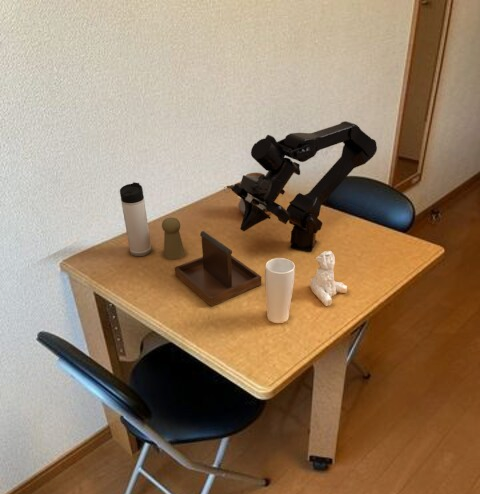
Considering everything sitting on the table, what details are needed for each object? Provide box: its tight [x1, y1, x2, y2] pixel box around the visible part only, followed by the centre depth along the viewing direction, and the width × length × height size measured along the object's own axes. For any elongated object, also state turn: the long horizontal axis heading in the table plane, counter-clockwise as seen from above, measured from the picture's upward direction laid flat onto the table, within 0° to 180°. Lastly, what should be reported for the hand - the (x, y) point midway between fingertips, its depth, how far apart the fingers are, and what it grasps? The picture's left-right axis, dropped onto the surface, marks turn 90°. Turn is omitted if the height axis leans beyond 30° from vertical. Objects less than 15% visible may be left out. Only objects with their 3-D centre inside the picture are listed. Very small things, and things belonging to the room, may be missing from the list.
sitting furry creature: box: [309, 250, 348, 307], centre depth 125 cm, size 10×9×12 cm
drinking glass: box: [264, 257, 296, 324], centre depth 116 cm, size 7×7×15 cm
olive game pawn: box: [161, 217, 185, 260], centre depth 142 cm, size 6×6×11 cm
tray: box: [173, 230, 262, 307], centre depth 130 cm, size 16×18×12 cm
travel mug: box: [119, 181, 152, 257], centre depth 141 cm, size 6×7×20 cm
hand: (241, 230), depth 130 cm, fingers closed
